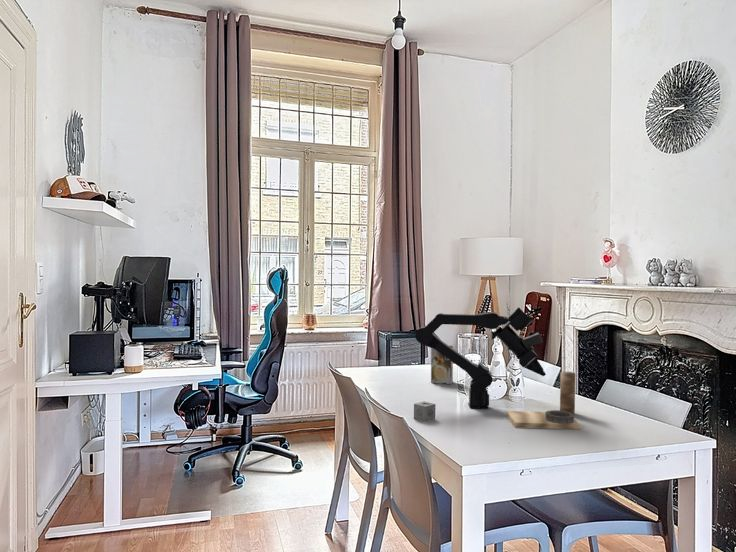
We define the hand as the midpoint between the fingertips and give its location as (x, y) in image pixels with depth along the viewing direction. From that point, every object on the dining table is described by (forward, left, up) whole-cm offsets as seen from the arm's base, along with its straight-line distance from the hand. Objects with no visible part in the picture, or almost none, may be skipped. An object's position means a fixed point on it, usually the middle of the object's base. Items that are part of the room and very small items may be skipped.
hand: (543, 372), depth 184 cm
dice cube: (-42, -14, -14) cm, 47 cm away
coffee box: (-32, +45, -14) cm, 57 cm away
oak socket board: (-4, -14, -13) cm, 20 cm away
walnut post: (+8, -1, -13) cm, 16 cm away
